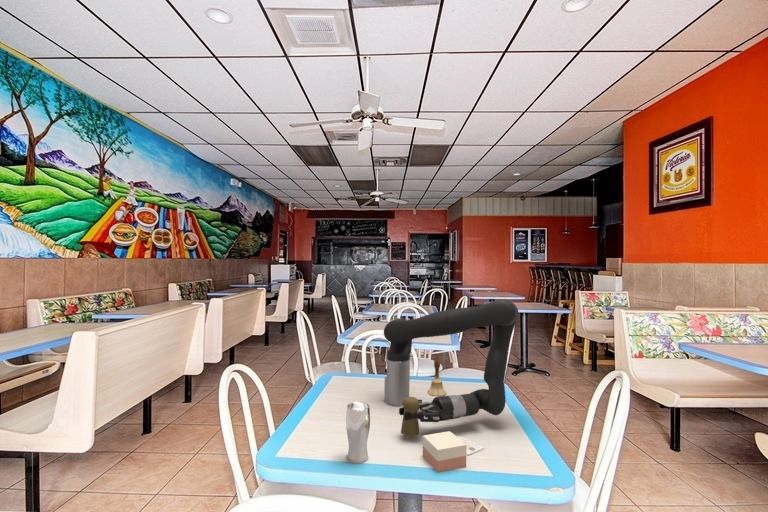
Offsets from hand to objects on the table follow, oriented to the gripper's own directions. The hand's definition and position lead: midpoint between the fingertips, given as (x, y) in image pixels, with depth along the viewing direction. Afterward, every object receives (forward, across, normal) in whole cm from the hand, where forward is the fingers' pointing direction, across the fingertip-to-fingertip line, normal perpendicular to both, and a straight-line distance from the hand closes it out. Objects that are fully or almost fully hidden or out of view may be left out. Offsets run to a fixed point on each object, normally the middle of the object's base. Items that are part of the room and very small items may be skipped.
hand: (402, 414), depth 124 cm
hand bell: (-31, -34, +9) cm, 47 cm away
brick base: (-6, +17, +8) cm, 19 cm away
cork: (-3, 0, +6) cm, 7 cm away
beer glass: (+17, +7, +8) cm, 20 cm away
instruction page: (-16, +10, +8) cm, 21 cm away
